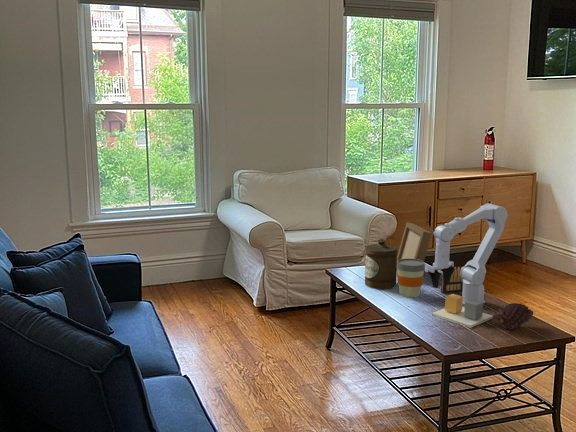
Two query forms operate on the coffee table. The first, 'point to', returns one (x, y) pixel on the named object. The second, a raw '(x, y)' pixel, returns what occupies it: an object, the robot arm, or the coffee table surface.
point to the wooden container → (381, 265)
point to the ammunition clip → (453, 283)
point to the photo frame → (414, 243)
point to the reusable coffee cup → (410, 276)
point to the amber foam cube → (453, 303)
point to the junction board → (461, 317)
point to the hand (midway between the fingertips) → (440, 285)
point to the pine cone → (513, 315)
